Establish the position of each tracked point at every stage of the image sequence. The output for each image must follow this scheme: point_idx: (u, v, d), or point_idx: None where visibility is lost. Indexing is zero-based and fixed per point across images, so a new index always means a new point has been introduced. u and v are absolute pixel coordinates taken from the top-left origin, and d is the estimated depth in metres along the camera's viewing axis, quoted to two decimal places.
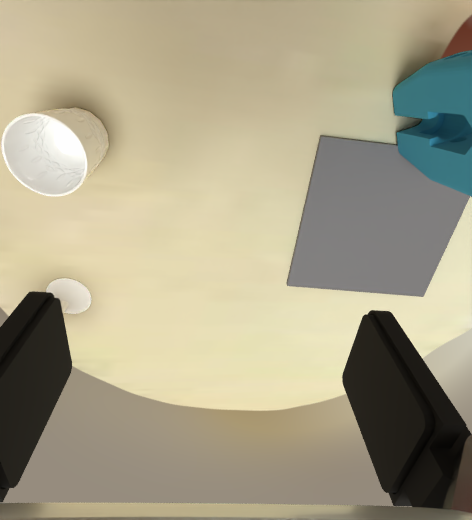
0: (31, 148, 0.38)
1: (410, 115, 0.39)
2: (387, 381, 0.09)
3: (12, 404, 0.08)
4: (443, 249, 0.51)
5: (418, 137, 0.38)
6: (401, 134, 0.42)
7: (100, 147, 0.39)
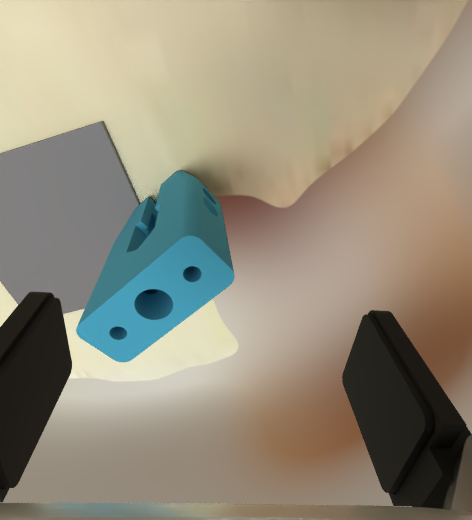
0: None
1: (159, 194, 0.38)
2: (387, 381, 0.09)
3: (12, 404, 0.08)
4: (84, 306, 0.50)
5: (143, 213, 0.37)
6: (146, 200, 0.41)
7: None
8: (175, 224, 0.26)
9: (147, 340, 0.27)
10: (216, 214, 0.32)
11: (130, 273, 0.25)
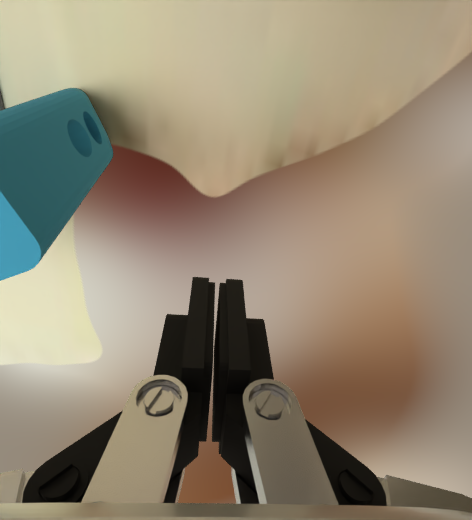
0: None
1: None
2: (218, 340, 0.10)
3: None
4: None
5: None
6: None
7: None
8: None
9: None
10: (88, 155, 0.20)
11: None
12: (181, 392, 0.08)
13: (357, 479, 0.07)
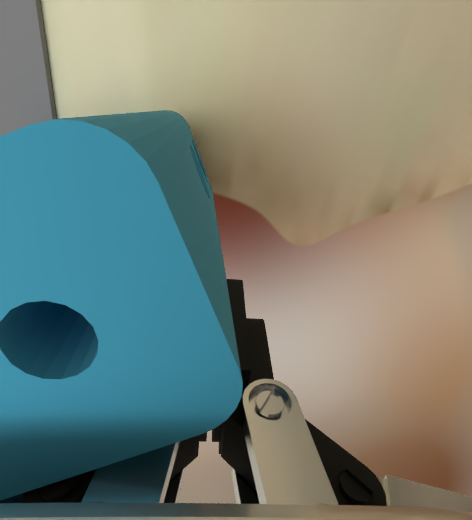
0: None
1: None
2: None
3: None
4: None
5: None
6: None
7: None
8: None
9: None
10: (206, 196, 0.13)
11: None
12: None
13: (357, 479, 0.07)
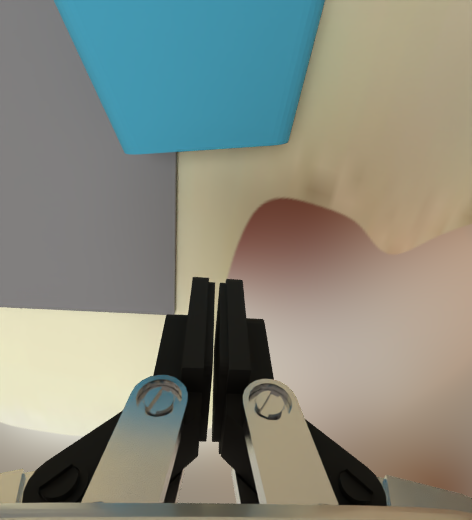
0: None
1: None
2: (218, 340, 0.10)
3: None
4: (2, 303, 0.28)
5: None
6: None
7: None
8: None
9: None
10: None
11: None
12: (181, 392, 0.08)
13: (357, 479, 0.07)
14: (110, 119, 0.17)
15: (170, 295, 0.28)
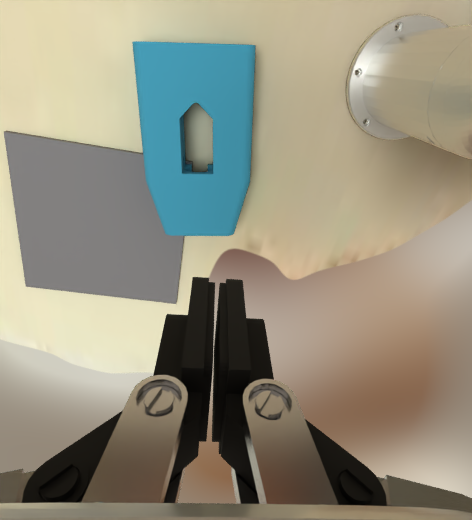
0: None
1: None
2: (218, 340, 0.10)
3: None
4: (85, 291, 0.53)
5: None
6: None
7: None
8: None
9: None
10: None
11: None
12: (181, 392, 0.08)
13: (357, 479, 0.07)
14: (161, 221, 0.42)
15: (175, 293, 0.53)
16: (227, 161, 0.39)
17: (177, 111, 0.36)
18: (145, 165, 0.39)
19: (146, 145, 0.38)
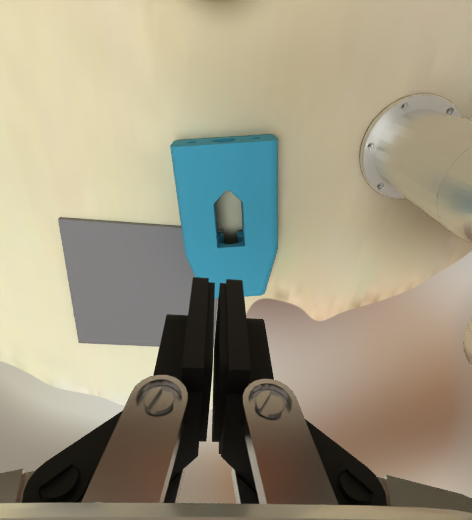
0: None
1: None
2: (218, 340, 0.10)
3: None
4: (131, 343, 0.58)
5: None
6: None
7: None
8: None
9: (199, 144, 0.39)
10: None
11: None
12: (181, 392, 0.08)
13: (357, 479, 0.07)
14: None
15: None
16: (257, 234, 0.44)
17: (211, 198, 0.41)
18: (184, 243, 0.44)
19: (185, 227, 0.43)
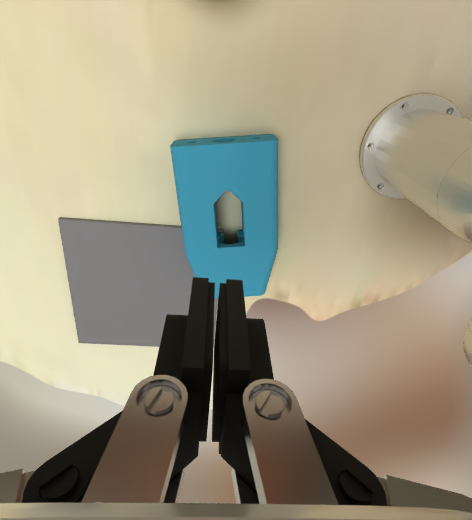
0: None
1: None
2: (218, 340, 0.10)
3: None
4: (131, 343, 0.58)
5: None
6: None
7: None
8: None
9: (199, 144, 0.39)
10: None
11: None
12: (181, 392, 0.08)
13: (357, 479, 0.07)
14: None
15: None
16: (257, 235, 0.44)
17: (211, 198, 0.41)
18: (184, 243, 0.44)
19: (185, 227, 0.43)
